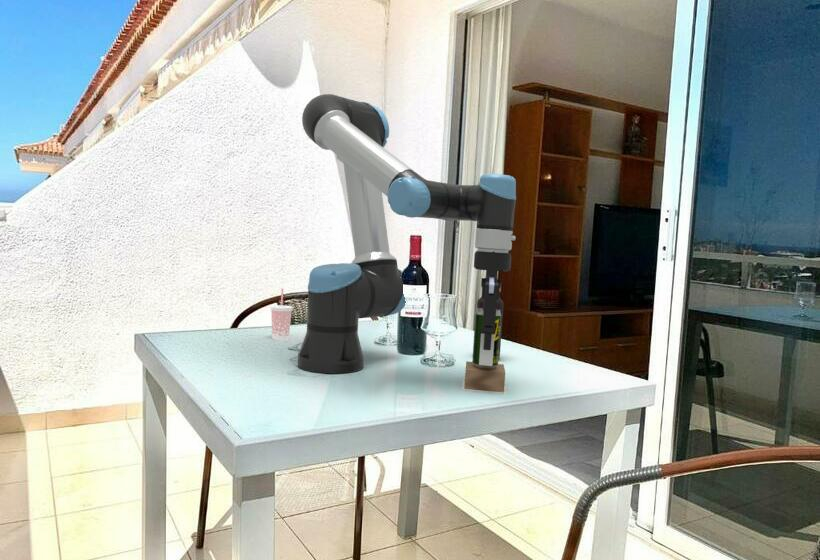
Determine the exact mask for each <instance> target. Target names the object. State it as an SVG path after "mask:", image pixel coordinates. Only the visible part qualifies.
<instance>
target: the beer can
mask: <svg viewBox="0 0 820 560" xmlns="http://www.w3.org/2000/svg"><path fill="white" fill-rule="evenodd" d="M483 309H484V308H477V307H476V312H475V315H474V329H473V345H472V346H473V347H472V361H471V362H472V363H473V366H474V367H477V368H482V369H494V368H496V367H497V365H498V364H499V360H498V356H499V341H500V326H501V313H500V310H498V309H496V320H495V328H496V331H495V333H494V334H495V336H494V350H493V364H492V366H485V365H479V357H480V342H481V333H478V330H481V329H482V325H483Z"/></svg>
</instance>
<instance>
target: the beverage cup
mask: <svg viewBox="0 0 820 560" xmlns="http://www.w3.org/2000/svg"><path fill="white" fill-rule="evenodd" d="M280 292H281V293H280V304H279V305H278V304H275V305H270V311H271V312H270V313H271V339H272V340H275V341H287V340H289V338H290V329H291V320H292V311H293V310H294V309H293V308H294V306H291V305H283V304H284V288H281V291H280Z"/></svg>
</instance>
